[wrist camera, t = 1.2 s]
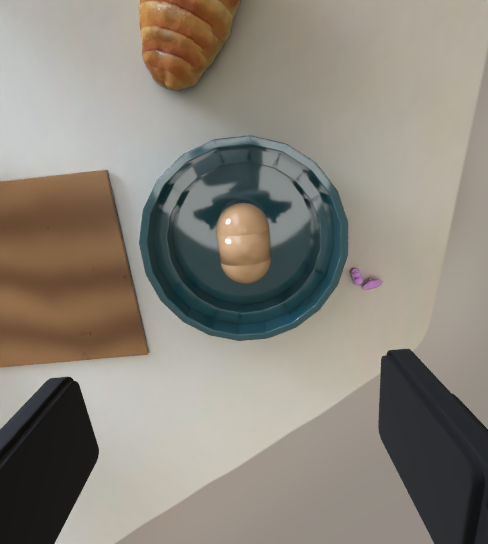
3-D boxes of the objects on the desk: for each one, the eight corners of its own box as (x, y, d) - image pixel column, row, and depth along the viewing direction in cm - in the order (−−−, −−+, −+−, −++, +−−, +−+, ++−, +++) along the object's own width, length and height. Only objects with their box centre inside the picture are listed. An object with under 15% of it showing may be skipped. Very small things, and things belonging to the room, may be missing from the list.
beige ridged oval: (215, 202, 27) (209, 208, 23) (265, 197, 27) (269, 202, 23) (224, 276, 29) (221, 294, 25) (271, 271, 29) (275, 289, 25)
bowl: (138, 152, 26) (118, 149, 22) (332, 131, 25) (348, 124, 21) (171, 324, 31) (161, 347, 27) (334, 310, 31) (347, 331, 27)
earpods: (367, 275, 31) (380, 266, 29) (372, 289, 30) (386, 281, 29) (344, 273, 30) (357, 263, 28) (349, 288, 29) (363, 279, 27)
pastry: (209, 108, 25) (202, 98, 21) (128, 72, 24) (107, 55, 21) (254, -28, 22) (255, -66, 19) (163, -73, 21) (147, -122, 18)
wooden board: (-96, 191, 27) (-100, 192, 27) (107, 170, 26) (105, 170, 26) (-20, 367, 33) (-23, 369, 32) (149, 352, 32) (147, 354, 32)
